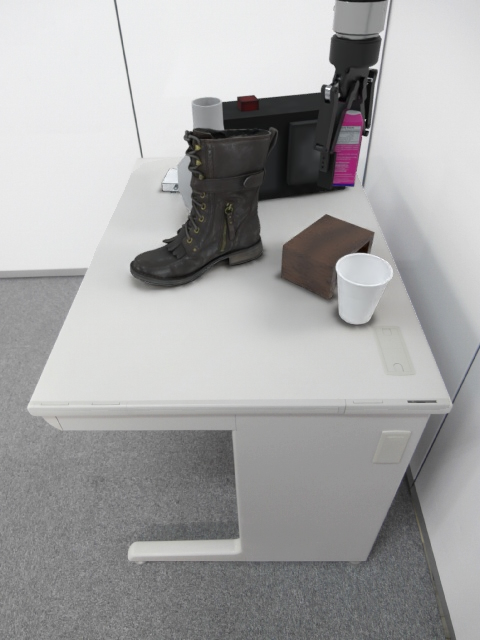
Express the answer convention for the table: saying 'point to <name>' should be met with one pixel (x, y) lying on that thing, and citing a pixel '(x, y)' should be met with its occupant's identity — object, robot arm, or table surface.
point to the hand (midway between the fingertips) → (337, 178)
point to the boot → (214, 207)
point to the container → (170, 181)
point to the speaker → (283, 140)
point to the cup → (361, 285)
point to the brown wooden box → (322, 253)
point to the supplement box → (348, 149)
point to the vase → (204, 116)
